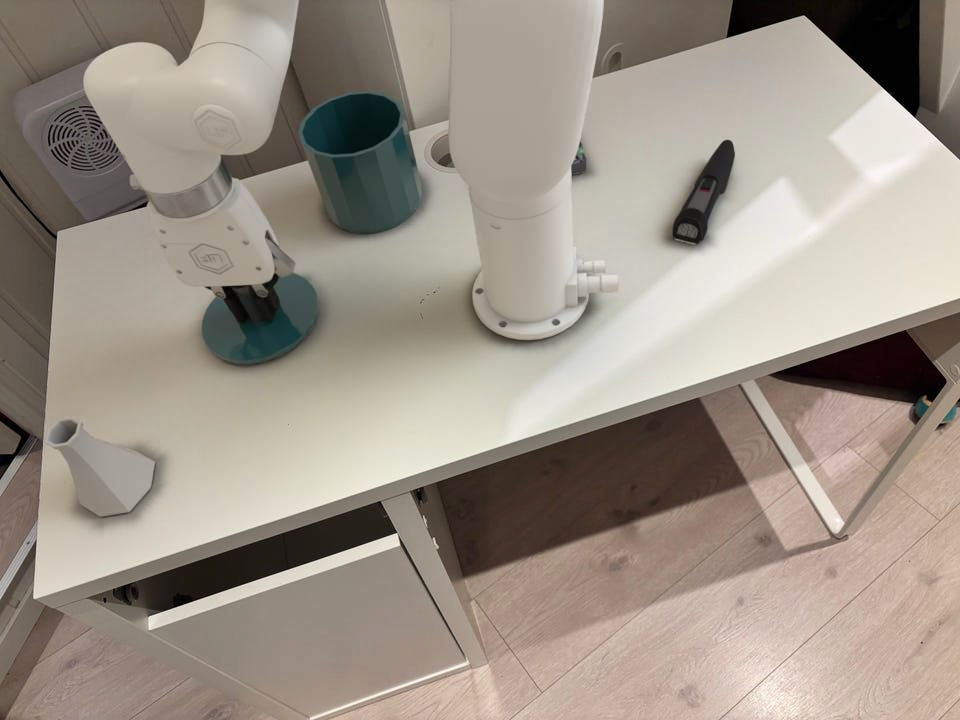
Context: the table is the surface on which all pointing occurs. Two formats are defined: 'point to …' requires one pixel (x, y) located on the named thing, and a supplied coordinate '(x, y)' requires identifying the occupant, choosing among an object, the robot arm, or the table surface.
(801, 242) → the table surface
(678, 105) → the table surface
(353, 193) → the pot
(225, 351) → the lid
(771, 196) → the table surface
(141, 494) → the flask
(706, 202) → the electric trimmer
